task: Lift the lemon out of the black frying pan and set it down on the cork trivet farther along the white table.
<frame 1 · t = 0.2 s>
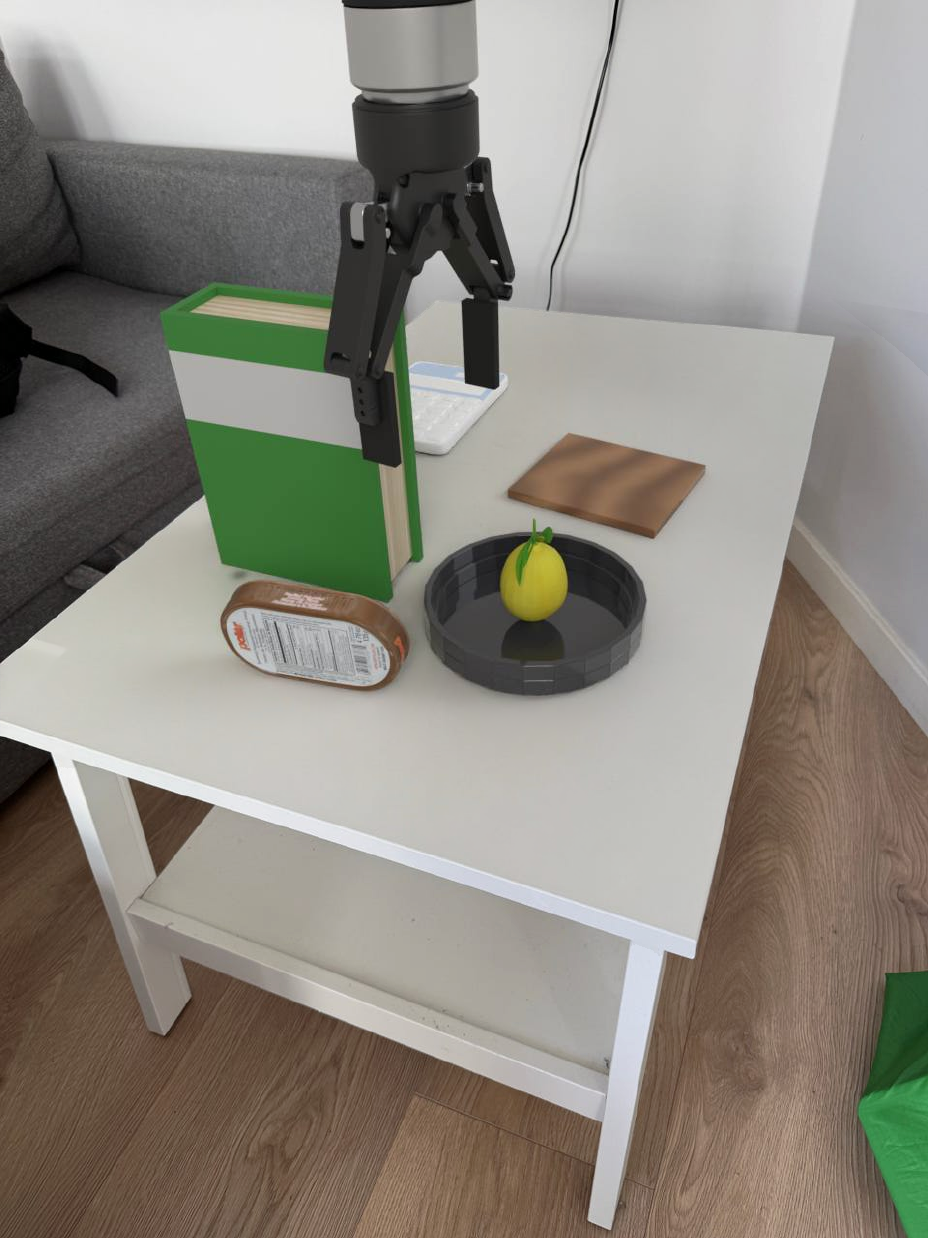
hand: (435, 421, 67), 19 cm above the table, tool pointing down, fingers open, 13 cm apart
trivet: (607, 485, 95), on the table
lemon: (533, 622, 77), resting on pan
hardback book: (322, 562, 86), on the table
calculator: (429, 412, 110), on the table
pan: (533, 625, 78), on the table
tin: (320, 678, 74), on the table
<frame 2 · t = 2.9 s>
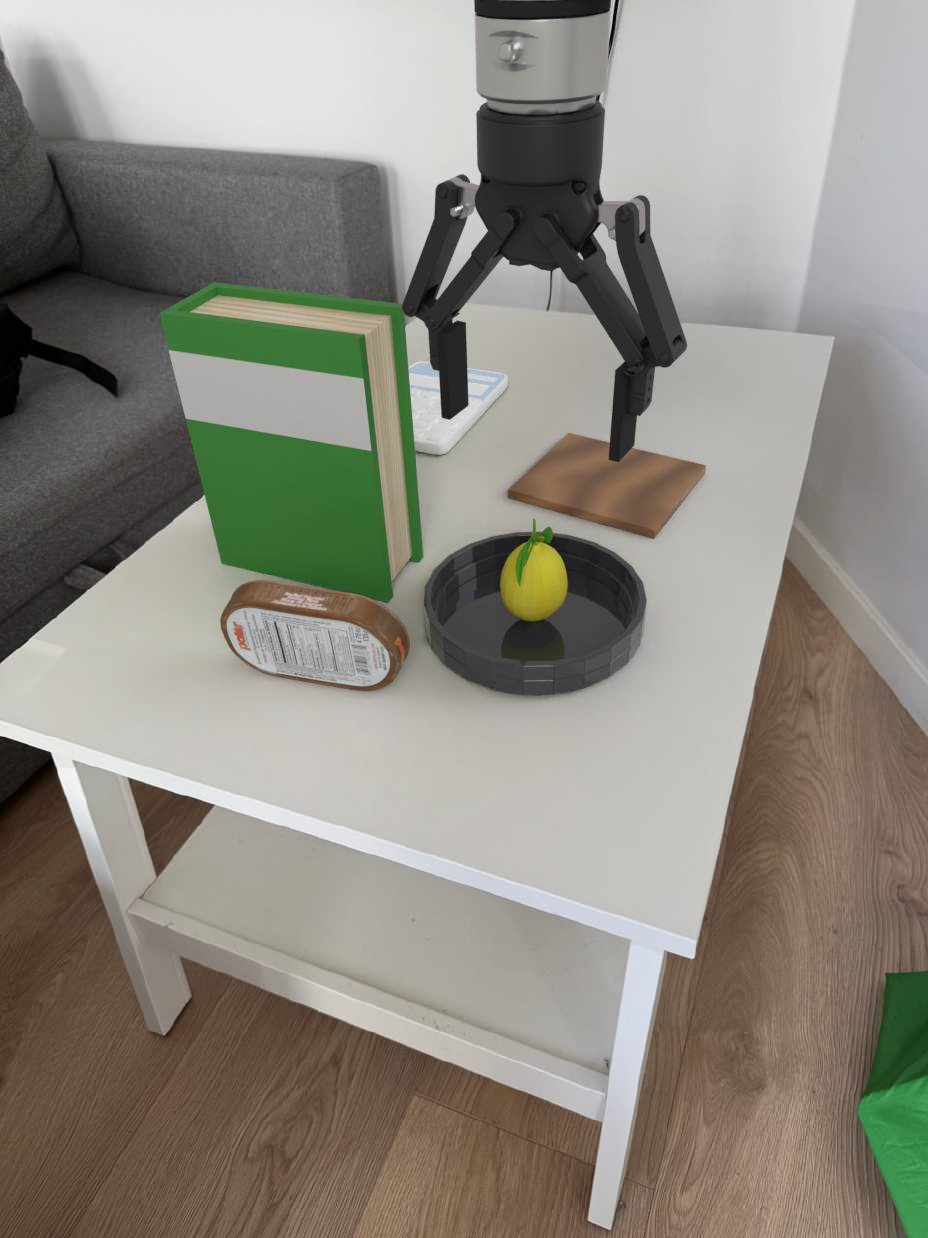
hand: (534, 431, 66), 18 cm above the table, tool pointing down, fingers open, 13 cm apart
nothing on the table moved.
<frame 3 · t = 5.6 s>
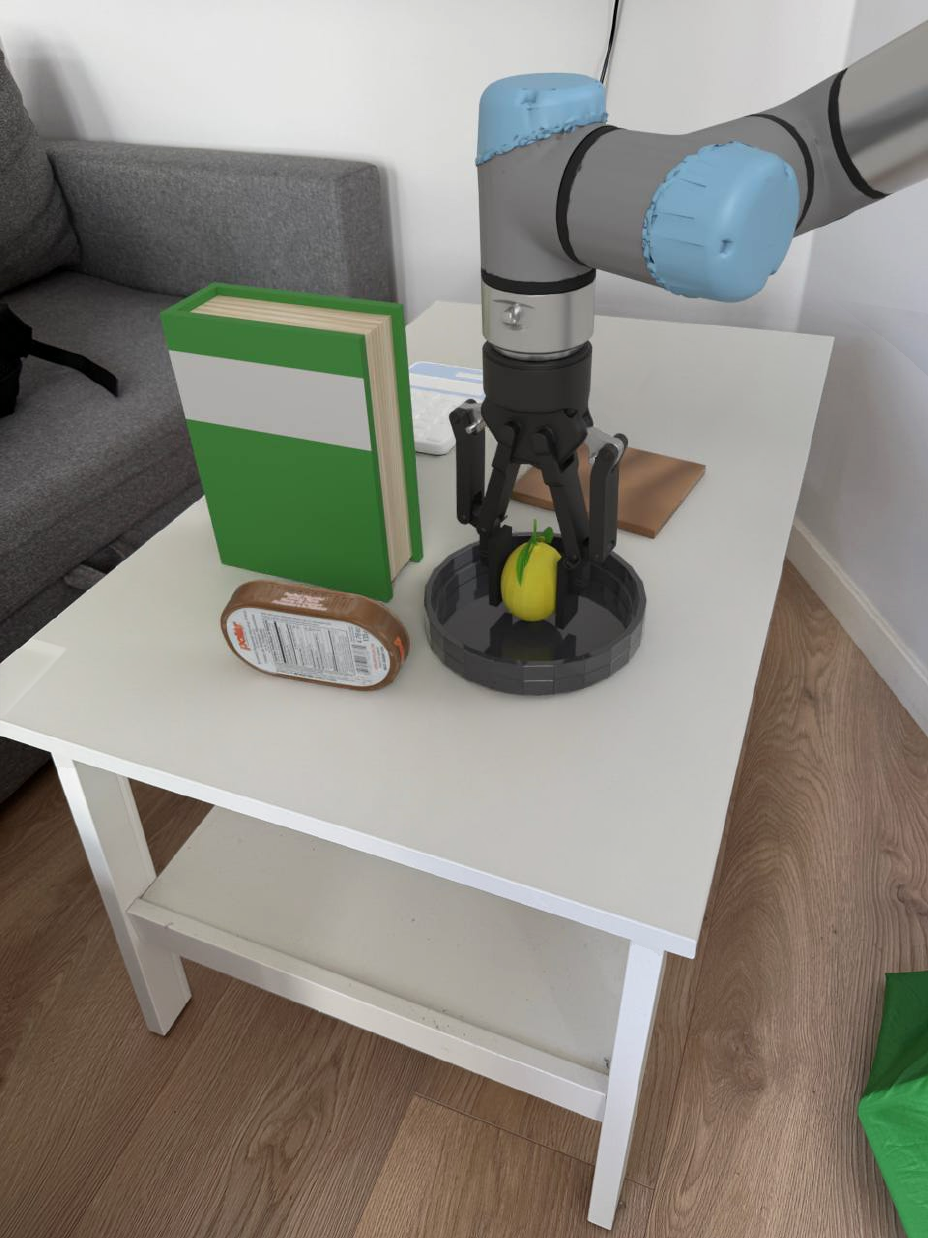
hand: (533, 607, 77), 2 cm above the table, tool pointing down, fingers closed on lemon, 5 cm apart
lemon: (533, 622, 77), resting on pan, touching gripper
everything else where it was.
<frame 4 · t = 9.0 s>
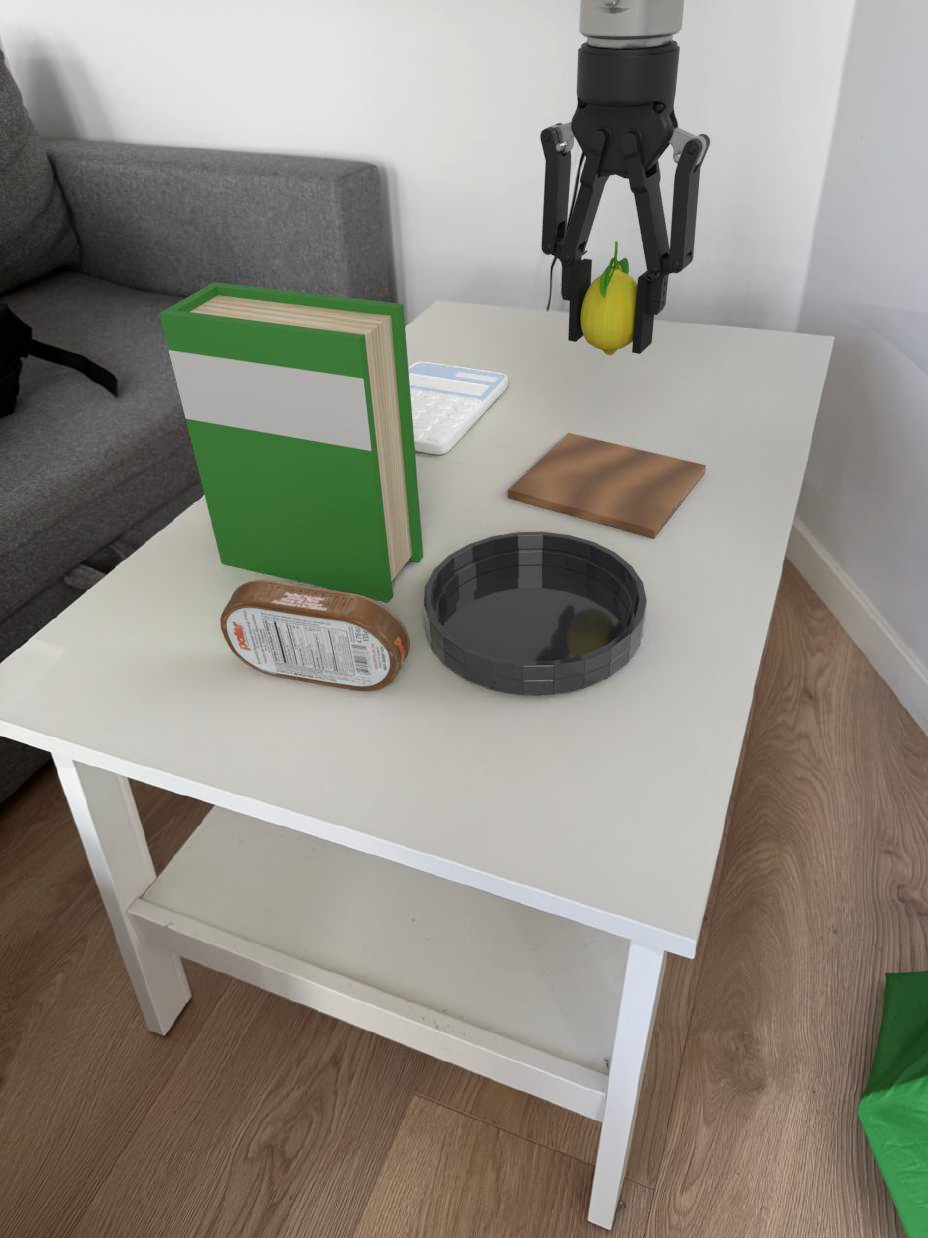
hand: (609, 341, 82), 17 cm above the table, tool pointing down, fingers closed on lemon, 5 cm apart
lemon: (609, 357, 83), point 15 cm above the table, touching gripper
everything else where it was.
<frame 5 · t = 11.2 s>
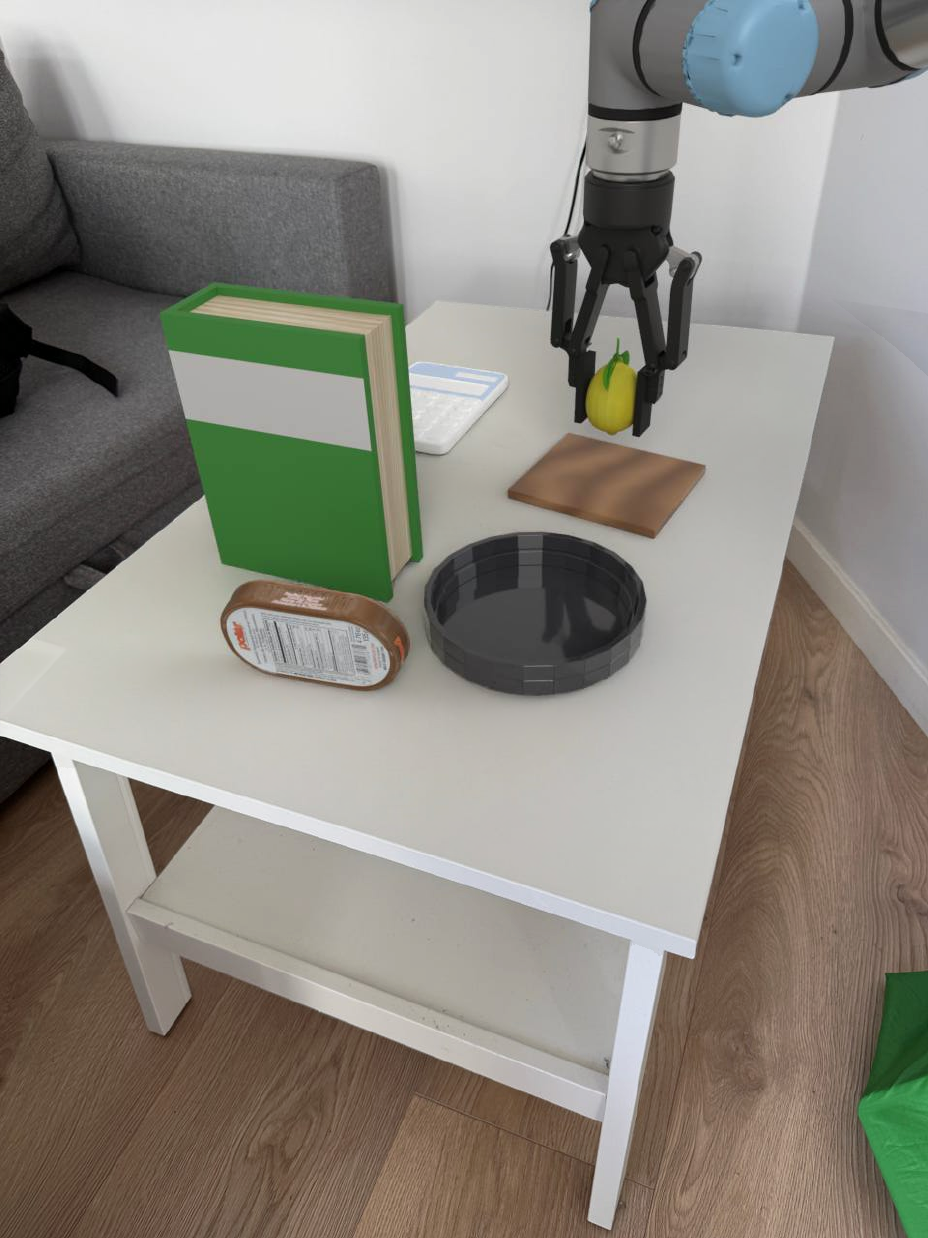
hand: (611, 423, 91), 7 cm above the table, tool pointing down, fingers closed on lemon, 5 cm apart
lemon: (611, 437, 92), point 6 cm above the table, touching gripper
everything else where it was.
when the fingers open (2 cm above the table, at t = 12.7 s): lemon stays where it is, resting on trivet.
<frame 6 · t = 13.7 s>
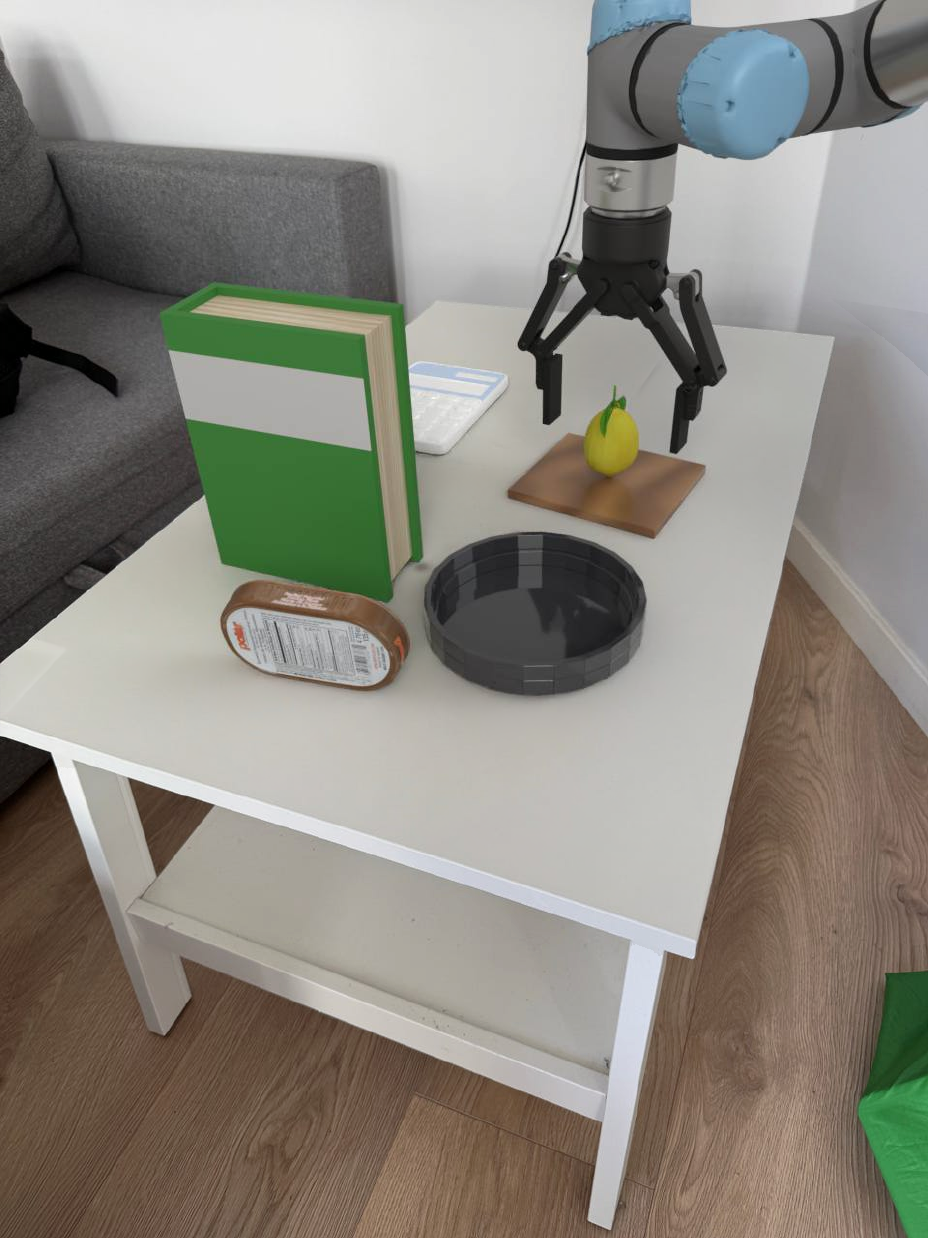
hand: (612, 433, 91), 6 cm above the table, tool pointing down, fingers open, 13 cm apart
lemon: (609, 478, 94), point 1 cm above the table, touching trivet
everything else where it was.
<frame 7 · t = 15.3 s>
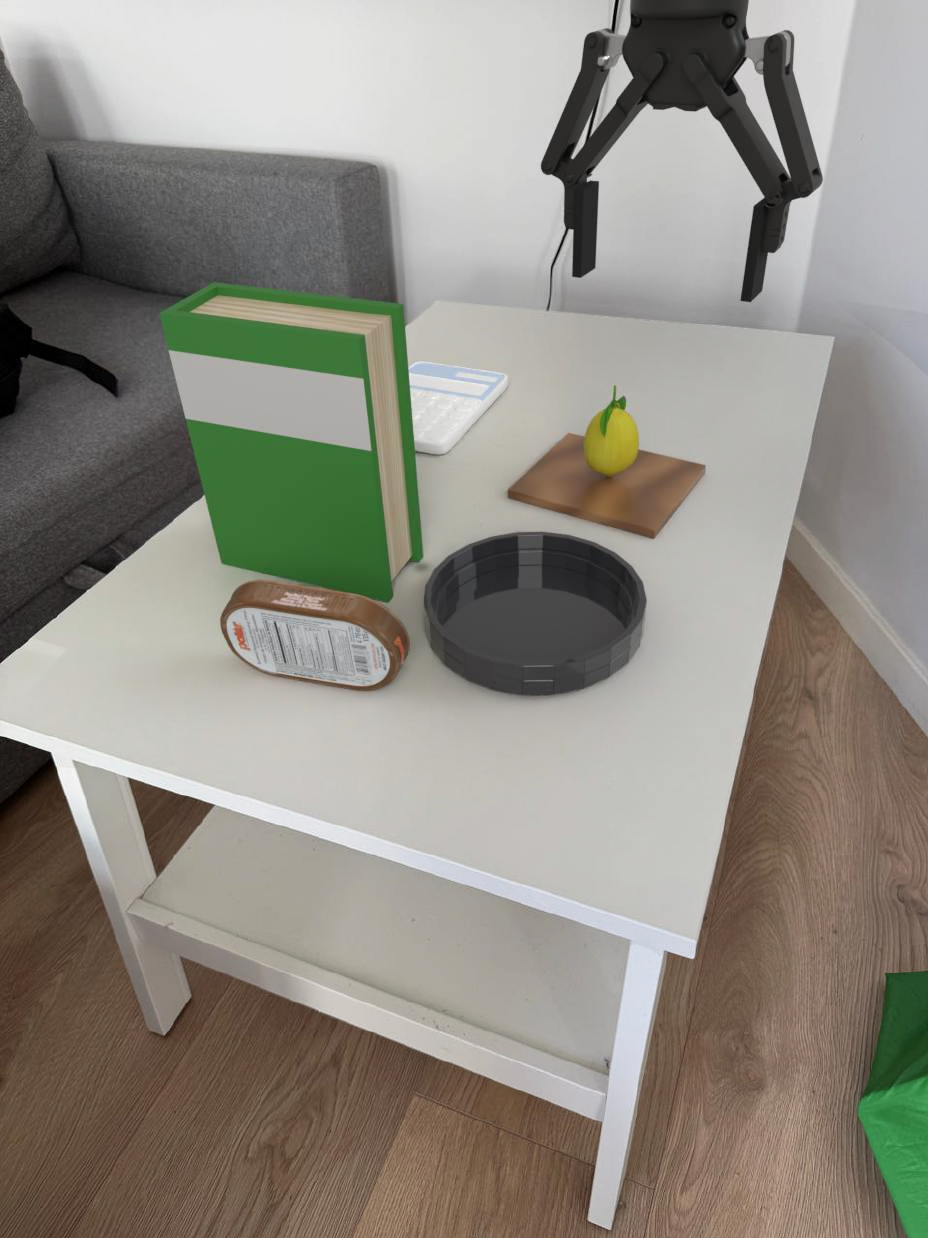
hand: (664, 284, 70), 25 cm above the table, tool pointing down, fingers open, 13 cm apart
nothing on the table moved.
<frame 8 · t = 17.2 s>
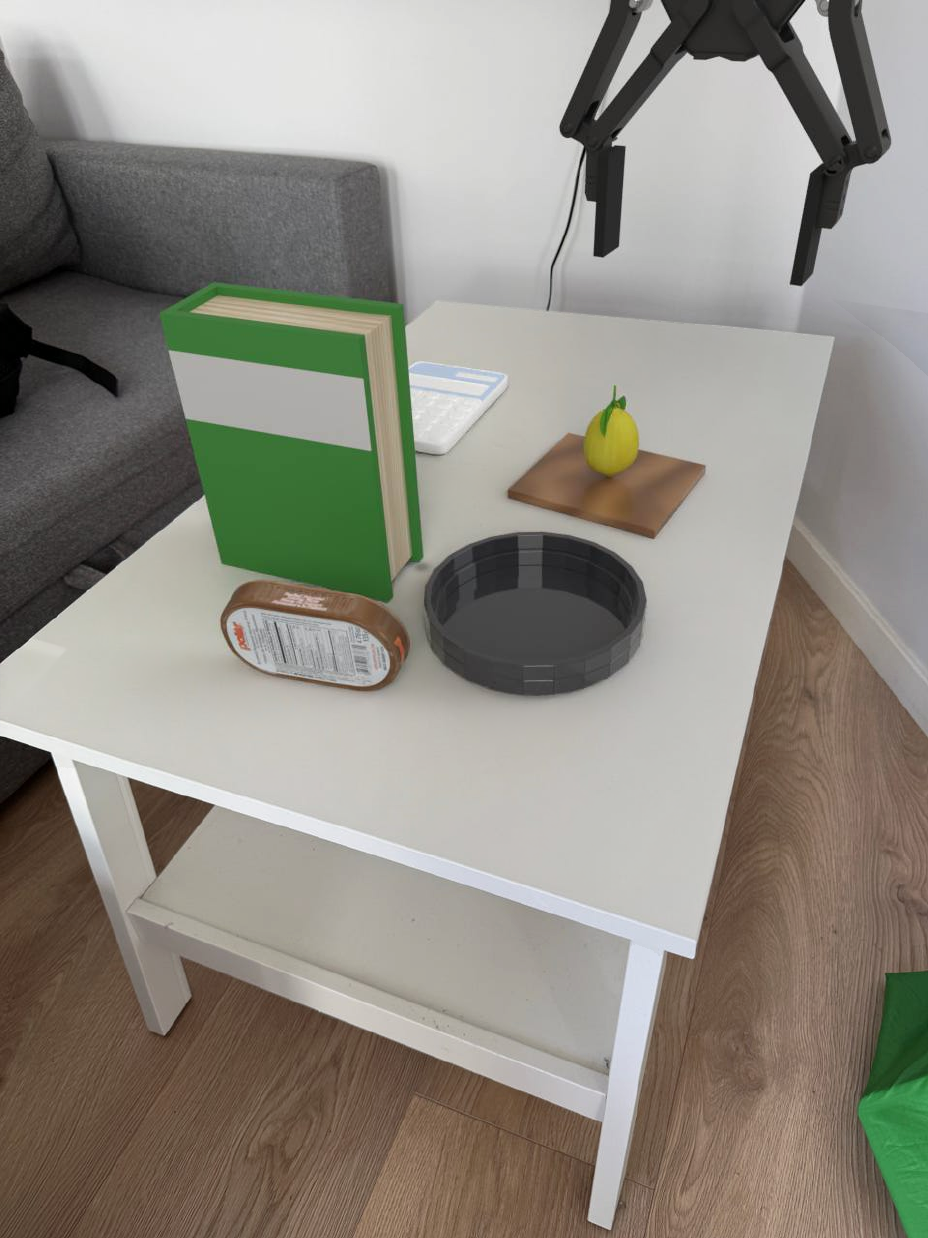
hand: (699, 265, 62), 29 cm above the table, tool pointing down, fingers open, 13 cm apart
nothing on the table moved.
at the end: lemon inside the target area on the trivet (0.1 cm from its centre), point 0.8 cm above the trivet's base; the gripper is holding nothing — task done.
